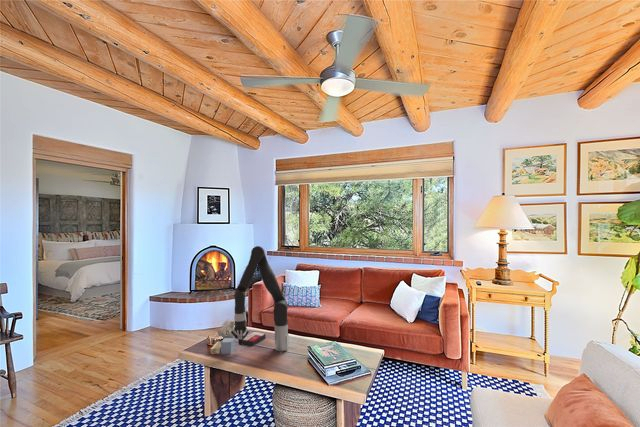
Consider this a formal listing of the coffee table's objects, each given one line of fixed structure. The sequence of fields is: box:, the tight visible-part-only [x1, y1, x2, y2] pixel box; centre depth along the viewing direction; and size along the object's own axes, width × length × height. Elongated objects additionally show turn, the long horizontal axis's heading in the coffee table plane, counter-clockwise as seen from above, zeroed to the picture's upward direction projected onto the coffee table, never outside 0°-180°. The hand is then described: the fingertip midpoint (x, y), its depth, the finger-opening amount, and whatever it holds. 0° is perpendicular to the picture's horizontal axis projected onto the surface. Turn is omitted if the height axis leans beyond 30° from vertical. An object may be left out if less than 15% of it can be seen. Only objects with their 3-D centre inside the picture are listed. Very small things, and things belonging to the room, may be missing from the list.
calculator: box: [242, 331, 267, 347], centre depth 224 cm, size 11×4×15 cm
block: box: [220, 337, 235, 355], centre depth 207 cm, size 7×7×8 cm
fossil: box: [217, 319, 235, 339], centre depth 230 cm, size 16×9×15 cm, turn 156°
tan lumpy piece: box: [210, 341, 221, 355], centre depth 209 cm, size 6×12×4 cm, turn 177°
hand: (240, 344), depth 206 cm, fingers closed
